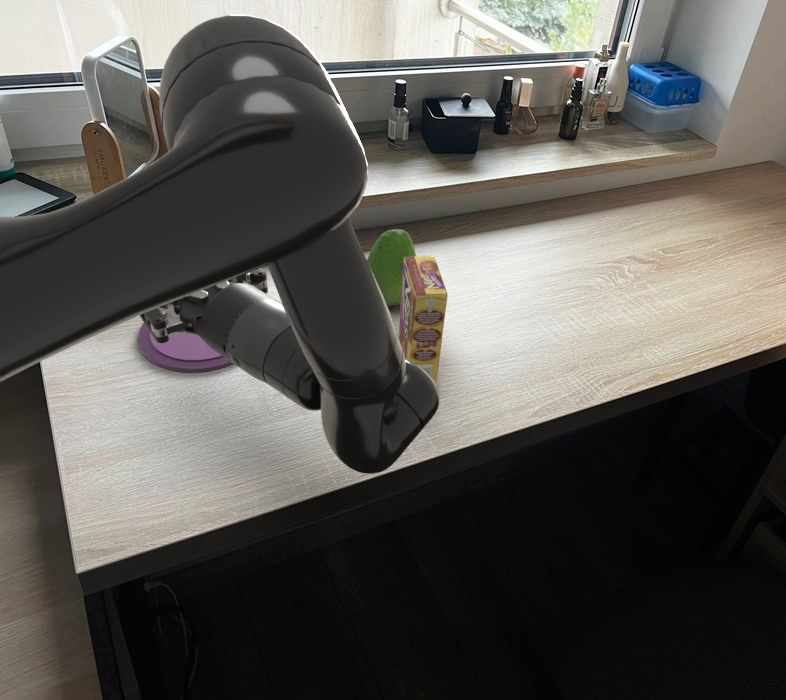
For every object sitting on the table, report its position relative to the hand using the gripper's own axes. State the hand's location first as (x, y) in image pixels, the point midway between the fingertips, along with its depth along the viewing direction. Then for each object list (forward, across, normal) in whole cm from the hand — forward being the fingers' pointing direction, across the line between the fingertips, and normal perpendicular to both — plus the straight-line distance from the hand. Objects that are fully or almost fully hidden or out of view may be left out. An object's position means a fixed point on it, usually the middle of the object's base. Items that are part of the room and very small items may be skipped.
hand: (158, 268), depth 79 cm
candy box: (-18, -23, +18) cm, 35 cm away
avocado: (-4, -33, +18) cm, 38 cm away
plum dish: (+8, -8, +18) cm, 21 cm away
